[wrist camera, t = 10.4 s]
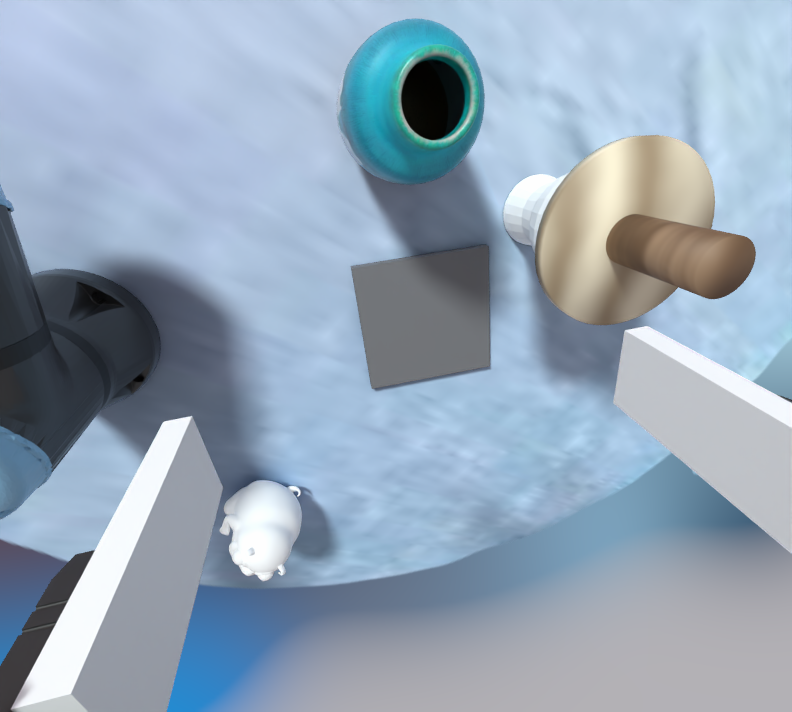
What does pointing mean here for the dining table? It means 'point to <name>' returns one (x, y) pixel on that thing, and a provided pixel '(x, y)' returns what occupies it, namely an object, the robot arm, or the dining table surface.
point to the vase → (411, 102)
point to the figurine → (262, 527)
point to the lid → (635, 233)
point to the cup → (528, 206)
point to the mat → (424, 314)
